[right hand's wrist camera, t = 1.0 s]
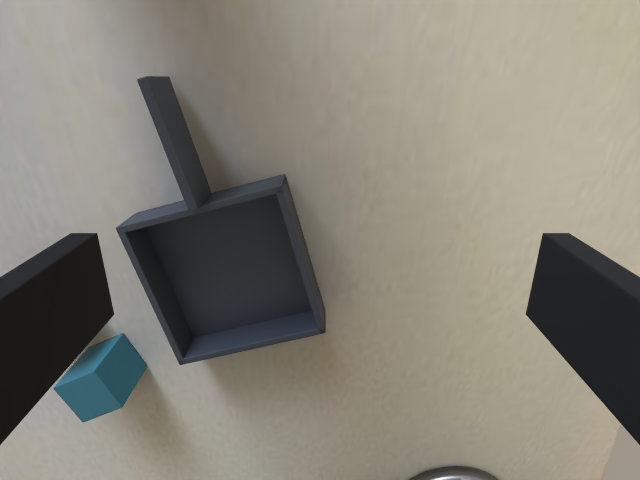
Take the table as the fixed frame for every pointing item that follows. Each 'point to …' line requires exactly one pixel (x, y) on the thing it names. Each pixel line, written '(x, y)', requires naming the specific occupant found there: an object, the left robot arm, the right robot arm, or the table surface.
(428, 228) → the table surface
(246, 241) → the tray
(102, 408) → the teal block
